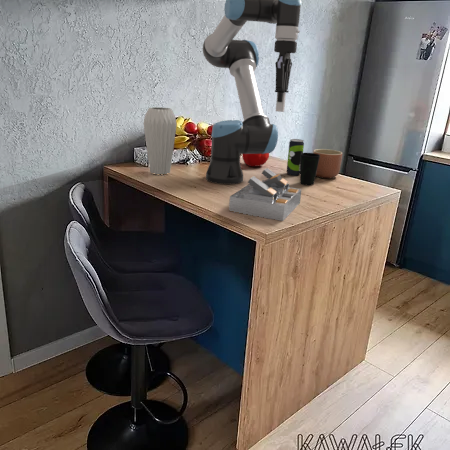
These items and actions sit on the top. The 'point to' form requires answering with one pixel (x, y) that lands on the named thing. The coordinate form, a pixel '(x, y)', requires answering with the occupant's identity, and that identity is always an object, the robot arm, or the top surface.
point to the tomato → (255, 159)
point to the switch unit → (266, 202)
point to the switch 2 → (262, 187)
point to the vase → (160, 138)
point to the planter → (328, 163)
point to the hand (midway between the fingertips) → (279, 111)
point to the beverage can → (294, 156)
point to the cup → (308, 168)
